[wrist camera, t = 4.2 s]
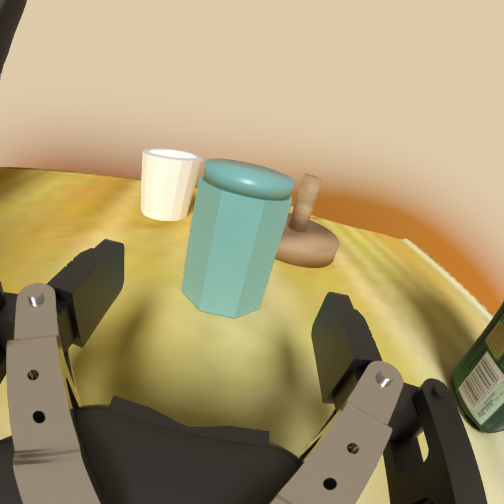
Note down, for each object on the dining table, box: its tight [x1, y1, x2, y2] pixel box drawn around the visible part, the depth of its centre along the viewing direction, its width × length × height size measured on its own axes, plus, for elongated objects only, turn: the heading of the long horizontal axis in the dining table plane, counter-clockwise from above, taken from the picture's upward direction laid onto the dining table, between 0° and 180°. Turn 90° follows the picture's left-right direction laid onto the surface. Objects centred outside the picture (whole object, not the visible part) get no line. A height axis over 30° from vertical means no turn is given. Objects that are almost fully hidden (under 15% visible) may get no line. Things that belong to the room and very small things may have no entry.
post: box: [275, 174, 339, 268], centre depth 30 cm, size 10×10×8 cm
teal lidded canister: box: [182, 159, 295, 318], centre depth 19 cm, size 6×6×9 cm
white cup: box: [141, 149, 203, 221], centre depth 30 cm, size 7×7×7 cm
